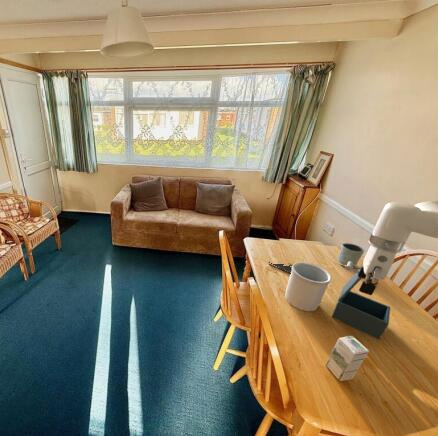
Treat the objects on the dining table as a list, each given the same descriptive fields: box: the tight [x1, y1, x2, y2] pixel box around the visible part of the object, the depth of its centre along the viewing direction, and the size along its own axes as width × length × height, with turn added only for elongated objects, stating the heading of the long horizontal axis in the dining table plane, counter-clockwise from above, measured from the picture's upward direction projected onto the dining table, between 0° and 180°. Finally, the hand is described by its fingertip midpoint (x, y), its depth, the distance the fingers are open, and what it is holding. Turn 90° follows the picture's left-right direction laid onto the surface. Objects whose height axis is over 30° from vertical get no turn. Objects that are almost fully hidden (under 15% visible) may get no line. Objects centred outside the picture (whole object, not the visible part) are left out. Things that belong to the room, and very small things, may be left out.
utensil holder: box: [284, 261, 332, 312], centre depth 107 cm, size 15×15×18 cm
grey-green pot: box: [337, 242, 365, 267], centre depth 135 cm, size 10×10×12 cm
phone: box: [268, 261, 293, 274], centre depth 135 cm, size 8×1×15 cm
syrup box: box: [325, 335, 370, 382], centre depth 77 cm, size 6×6×14 cm
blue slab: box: [337, 261, 363, 302], centre depth 99 cm, size 16×13×6 cm
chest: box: [331, 290, 391, 340], centre depth 98 cm, size 16×13×9 cm
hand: (364, 285), depth 78 cm, fingers open, 9 cm apart
